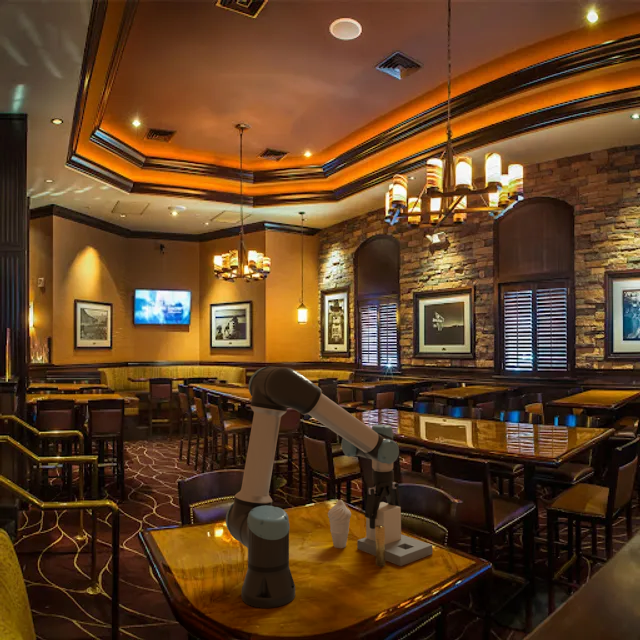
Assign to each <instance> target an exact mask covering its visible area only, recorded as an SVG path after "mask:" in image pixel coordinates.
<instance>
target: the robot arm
mask: <svg viewBox="0 0 640 640" xmlns="http://www.w3.org/2000/svg"><path fill="white" fill-rule="evenodd" d="M248 391H249V394H250V396H251V401H250V408H251V410H252V412H253V417H252V422H251V430H250V433H249V434H250V436H249V440H248V447H247V451H246V453H247V454H246V458H245V464H244V470H243V477H242V482H241V483H242V484H241V488H240V491H238V492H237V493H235V495H234V500H233V502H232V504H231V505H230V506H229V507H228V509H227V512H226V515H225V525H226V529H227V530H228V532H229V533H230V535H231V537H233V538H234V539H235V541H237V542H239V543H241V545H243V546H244V547H246V548H247V570H246V574H245V577H244V580H243V583H242V587H241V600H242V602H243V601H244V604H246V605H248V606H250V605H251V606H250V607H253V606H254V608H259V607H260V608H261V609H267V608H268V609H270V608H271V609H273V608H277V607H278V608H279V607H281V606H282V607H283V606H285V605H287V604H288V603H291V602H292V601H293V600H294V599H295V598H296V584H295V580H294V578H293V575H292V573H291V569H290V521H289V514H288V513H287V512H286V510H284V509H283V508H281V507H278V506H274V505H273V499H272V498H271V496H270V494H269V493H270V492H269V491H270V486H271V480H272V475H273V474H272V473H273V468H274V463H275V457H276V456H275V455H276V449H277V442H278V437H279V432H280V426H281V419H282V416H284V415H286V413H287V411H288V408H289V409H292V410H294V411H297V412H298V413H299V414H300V415H303V416H305V415H306V416H307V415H309V416H310V417H312V418H313V419H314V420H316V421H317V422H318V423H320V424H321V425H323V426H325V427H326V428H327V429H329V430H331V432H333V433H335V434H336V435H338V436H340V437H341V438H342V439H341V450H342V452H343V454H344V455H345V456H346V457H351V458H352V457H353V458H355V457H360V458H365V459H369V460H371V468H372V471H371V477H372V478H371V479H372V481H373V485H372V487H367V488H366V493H367V496H366V504H365V510H364V517H365V518H366V517H367V518H369V519H370V528H371V537H373V538H375V539H376V536H375V526H377V525H378V519H376V516H377V510H378V509H379V505H380V503H381V502H382V501H383V499H384V497H385V499H386V503H388V504H390V505H395V506H399V507H401V508H402V505H401V498H400V492H399V483H398V482H394V479H395V478H394V475H395V474H394V470H393V469H394V462H396V461H397V459H398V457H399V454H400V448H399V445H398V444H397V442H396V441H394V432H393V427H392V426H391V425H388V424H373V425H372V426H371V427H370V426H369V425H367V424H366V423H364V422H362V421H361V420H359V419H358V418H357V417H355V416H354V415H352V414H351V413H350V412H348V411H347V410H346V409H345V408H343V407H342V406H340V405H339V404H337V402H335V401H333V400H332V399H330V398H329V397H328V396H326V395H325V394H323V393H322V388H320V387H319V386H318V385H317V384H316V383H314V382H313V381H311V380H310V379H308V378H307V377H306V376H304V375H303V374H301V373H300V372H299V371H297V370H295V369H294V368H290V367H285V366H284V367H279V366H265V367H261V368H259V369H257V370H256V371H255V372H253V373H252V374H251V376H250V379H249V381H248ZM372 514H373V515H372ZM260 608H259V609H260Z"/></svg>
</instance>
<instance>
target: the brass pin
mask: <svg viewBox="0 0 640 640" xmlns="http://www.w3.org/2000/svg"><path fill="white" fill-rule="evenodd" d="M375 536H376V556H375V566H377V567H380V568H381V567H385V566H386V560H385V526H382V525H377V526H375Z"/></svg>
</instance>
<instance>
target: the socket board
mask: <svg viewBox="0 0 640 640" xmlns="http://www.w3.org/2000/svg"><path fill="white" fill-rule="evenodd" d="M356 542H357V544H356V545H357V549H358V550H360V551H361V552H365V553H367V554H369V555H372V556H374V557H376V542H375V541H373V540H370V539H367V538H366V537H362V538H360V539H357V541H356ZM433 554H434V553H433V544H431V543H428V542H425V541H422V540H420V539H416V538H413V537H411V536H407V535H404V534H402V533H401V539H400V540H397V541H394V542H391V543H388V544H385V562H389V563H392V564H394V565H397V566H400V567H402V566H405V565H407V564H410V563H412V562H416V561H419V560H421V559H423V558H425V557H426V558H427V557H428V556H431V555H433Z"/></svg>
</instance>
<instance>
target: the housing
mask: <svg viewBox="0 0 640 640" xmlns="http://www.w3.org/2000/svg"><path fill="white" fill-rule="evenodd" d="M401 511H402V506H401V507H399V506H395V505H390V504H388V502H384V501H381V502H380V505H379V509H378V510H377V516H376V519H378V525H382V526H385V544H388V543H391V542H394V541H397V540H400V539H401V534H402V514H401ZM372 515H373V514H372ZM365 520H366V521H365V522H366V523H365V524H366V525H365V529H366V530H365V532H366V533H365V534H366V535H365V538H367V539H370V540H373V541H375V542H376V539H375V538H373V537H371V528H370V519H369V518H367V517H365Z"/></svg>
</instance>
